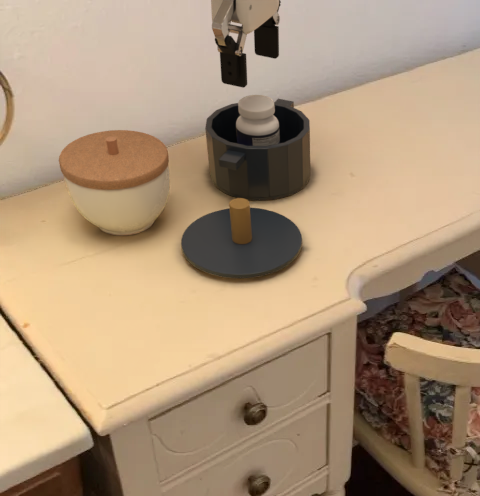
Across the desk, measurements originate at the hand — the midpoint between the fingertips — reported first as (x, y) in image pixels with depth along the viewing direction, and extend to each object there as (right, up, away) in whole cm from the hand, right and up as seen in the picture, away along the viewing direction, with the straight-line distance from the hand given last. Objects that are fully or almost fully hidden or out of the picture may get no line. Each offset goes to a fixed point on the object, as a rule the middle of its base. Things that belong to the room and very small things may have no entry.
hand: (251, 69), depth 105 cm
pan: (0, -11, +10) cm, 15 cm away
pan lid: (-1, -22, -3) cm, 23 cm away
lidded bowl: (-16, -19, +1) cm, 25 cm away
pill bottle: (0, -10, +10) cm, 14 cm away
